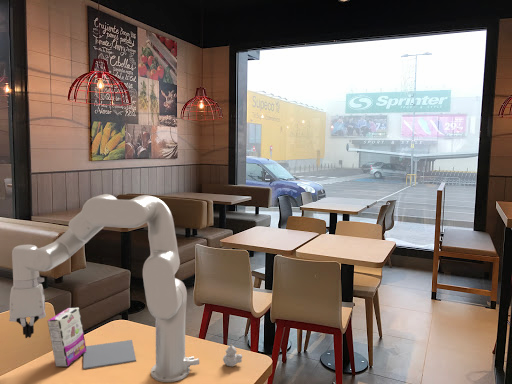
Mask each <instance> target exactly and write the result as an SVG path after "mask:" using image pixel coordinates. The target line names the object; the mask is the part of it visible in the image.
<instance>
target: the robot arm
mask: <svg viewBox="0 0 512 384" xmlns="http://www.w3.org/2000/svg"><path fill="white" fill-rule="evenodd" d="M144 224H147V227H148V232H147V235H148V241H149V250H150V255H149V256H148V257H147V258H146V260H145V261H144V263H143V267H142V279H143V287H144V294H145V300H146V305H147V308H148V311H149V313H150V315H151V316H152V317H153V318H155V364H154V365H153V366H152V368H150V375H151V377H152V378H153V379H154V380H156V381H158V382H161V383H174V382H175V383H176V382H177V381H178V382H179V381H181V380H184V379H185V378H186V377H187V376H189V374H190V373H191V372H190V371H191V369H190V368H191V366H197V365H200V358H199V357H198V358H195V356H193V355H192V356H189V357H187V356H186V310H187V302H188V301H187V298H188V293H187V287H186V286H185V283H184V282H183V281H182V280H180V279H178V278H176V273H177V272H178V270H179V268H180V266H181V259H180V254H179V248H178V241H177V236H176V230H175V223H174V217H173V215H172V211H171V210H170V208H169V207H168V205H167V204H166V203H165V202H164V201H163V200H161V199H160V198H158V197H156V196H154V195H153V196H152V195H144V194H143V195H139V196H135V197H134V198H132V199H118V198H117V197H115V196H114V195H112V194H109V193H104V194H99V195H96V196H93V197H91V198H89V199H87V200H86V201H85V202H84V204H83V206H82V209H81V210H80V212H78V213H77V214H76V215H75V216H74V217H72V218H71V219H70V221H69V222H68V229H67V230H66V231H65V232H64V233H62V234H61V235H60V236H59V237H58V238H57V239H55V240H54V241H53V242H51V243H49V244H46V245H45V246H41V247H38V246H36V245H35V244H20V245H17V246H15V247H13V248H12V251H11V253H12V254H11V260H12V278H13V279H12V280H13V283H12V287H11V288H10V294H9V318H8V321H9V322H13V323H18V324H19V325H20V326H21V327H22V335H23V336H24V338H25V339H28V338H29V339H30V338H31V337H32V335H33V334H34V333H35V329H34V324H35V323H37V321H38V320H41V319H44V318H46V315H47V314H46V311H45V310H46V302H45V301H46V300H45V290H44V287H43V284H42V283H43V282H45V277H41V276H40V272H47V271H51V270H52V269H54V268H56V267H58V266H59V265H61V264H62V263H64V262H65V261H67V260H69V258H71V257H72V256H73V255H74V254H75V253H77V252H78V251H79V250H80V249H82V248H83V247H84V245H85V244H87V243H88V242H89V241H90V240H91V239H92V238H93V237H95V235H97V234H98V233H99V232H100V231H101V230H102V229H103V228H105V227H108V228H124V229H125V228H126V229H127V228H128V229H129V228H130V229H131V228H132V229H133V228H139V227H141V226H143V225H144ZM27 318H29V322H28V320H27Z"/></svg>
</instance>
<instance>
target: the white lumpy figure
mask: <svg viewBox="0 0 512 384" xmlns="http://www.w3.org/2000/svg"><path fill="white" fill-rule="evenodd" d="M222 358H223V359H222V361H223V363H224V365H226V366H227V367H234V366H236V365H237V364H238V363H239V364H240V363H242V361H243V360H242V359H243V355H242V354H240V353H238V354H237V349H236V347H235V346H234V345H233V344H231V342H229V345H228V347H227V349H225V355H224V356H223V357H222Z"/></svg>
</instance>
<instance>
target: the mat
mask: <svg viewBox="0 0 512 384" xmlns="http://www.w3.org/2000/svg"><path fill="white" fill-rule="evenodd" d="M86 350H87V351H86V352H85V353H83V361H82V362H83V366H82V367H83V370H89V369H94V368H101V367H108V366H115V365H121V364H127V363H133V362H134V363H135V362H137V359H136V353H135V349H134V344H133V339H128V340H121V341H115V342H108V343H107V342H106V343H99V344H93V345H92V344H91V345H86Z"/></svg>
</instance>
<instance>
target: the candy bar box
mask: <svg viewBox="0 0 512 384" xmlns="http://www.w3.org/2000/svg"><path fill="white" fill-rule="evenodd" d="M47 326H48V330H49V337H50V342H51V348H52V353H53V359H54V364H55V367H58V368H59V367H63V368H64V367H69V366H70V365H71V364H73V363H74V362H75V361H76V360H77V359H79V358H80V357H81V356H82V355H84V353H85V352H86V351H87V350H86V346H87V345H86V340H85V335H84V329H83V323H82V317H81V312H80V308H79V307H67V308H66V309H64V310H62V311H61V312H59V313H57V314H56V315H54V316H53V317H51V318H49V319H48V320H47Z"/></svg>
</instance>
